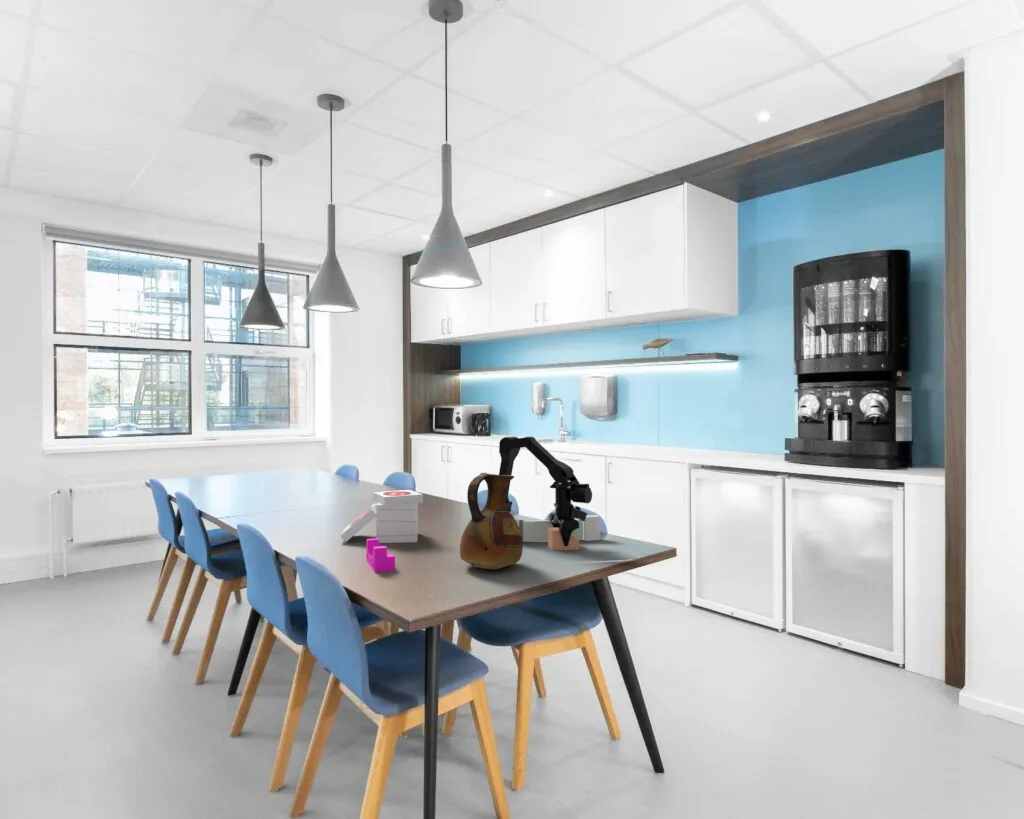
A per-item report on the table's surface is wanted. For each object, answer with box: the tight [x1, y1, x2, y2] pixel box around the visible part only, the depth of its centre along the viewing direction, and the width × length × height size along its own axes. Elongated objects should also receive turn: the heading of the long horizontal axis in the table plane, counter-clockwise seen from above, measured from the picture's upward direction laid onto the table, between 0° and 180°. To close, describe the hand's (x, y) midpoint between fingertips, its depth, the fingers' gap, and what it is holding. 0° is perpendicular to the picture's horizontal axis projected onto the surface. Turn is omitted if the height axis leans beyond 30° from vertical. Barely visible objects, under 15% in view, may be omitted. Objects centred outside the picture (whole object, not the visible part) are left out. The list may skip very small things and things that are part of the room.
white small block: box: [514, 514, 601, 542], centre depth 233 cm, size 33×3×9 cm, turn 102°
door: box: [519, 518, 583, 543], centre depth 232 cm, size 25×3×8 cm, turn 102°
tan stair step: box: [547, 527, 580, 552], centre depth 222 cm, size 10×6×7 cm, turn 102°
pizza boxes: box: [339, 489, 424, 544], centre depth 234 cm, size 19×30×18 cm, turn 98°
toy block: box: [365, 538, 396, 573], centre depth 197 cm, size 15×6×8 cm, turn 23°
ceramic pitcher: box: [459, 472, 524, 571], centre depth 196 cm, size 20×20×30 cm
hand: (563, 544), depth 222 cm, fingers closed on tan stair step, 6 cm apart
